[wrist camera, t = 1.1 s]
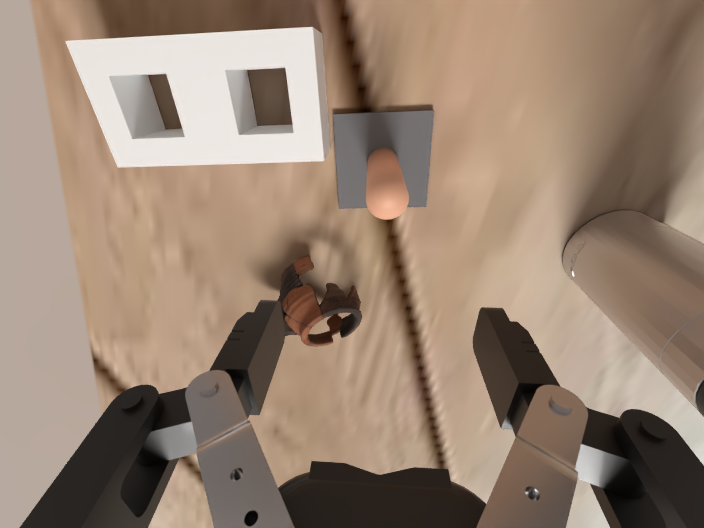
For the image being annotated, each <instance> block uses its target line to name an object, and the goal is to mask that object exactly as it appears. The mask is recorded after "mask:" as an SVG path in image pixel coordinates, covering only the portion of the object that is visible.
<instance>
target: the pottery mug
mask: <svg viewBox="0 0 704 528" xmlns="http://www.w3.org/2000/svg"><path fill="white" fill-rule="evenodd" d="M313 268H314V265H313V263H312V262H311V258H310V256H306V257H302V258H300V259H298V260H297V261H295V262H294V263H292V264H291V265H290V266H289V267H288V268H286V270H285V271H284V273H283V275H282V285H281V290H280V296H279V299H278V300H277V301H280V303H281V308H282V314H283V321H284V327H285V336H288V335H300V336H301V340H302V342H303V343H304V344H306V345H308V346H316V347H317V346H324V345H329V344H331V343H333V338H332V336H333V335H335V334H337V333H338V332H340V335H341V337H342V338H344V337H346V336H348V335H349V334H351V333H352V332H353V331H354V330H355V329H356V328H357V327H358V326H359V324H360V322H361V319H362V314H361V311H360V310H359V309H360V304H361V301H360V299H359V297H358V294H357V291H356V289H355V287H354V286H352V288H351V292H350V294H349V296H348V297H347V298H346V295H345V293H344V292H343V291H342V290H341V289H339V287H338V286H337V285H336V284H333V283H327V284H326V288H327V292H326V294H325V297H324V299H323V301H322V302H321V304H320V305H319V303H318V301H317V299H316V296H315V291H314V289H313V288H312V287H311V286H308V285H305V286H303V284H302V283H301V281H300V280H299V276H300V275H302V274H303V273H305V272H307V271H309V270H312V269H313ZM338 313H352V314H350V315H349V316H346V317H345V318H343V319H342V318H341V317H340V316H338V315H337V314H338ZM331 315H333V316H331ZM329 316H331V317H330V318H329V319H328V320H327V325H328V326H329V327H330V331H327V332H324V333H321V334H317V335H315V334H308V333H309V331H310V330H311V328H312V327H313V326H314V325H315V324H317V323H318V322H319V321H321V320H322V319H324V318H326V317H329Z"/></svg>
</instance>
